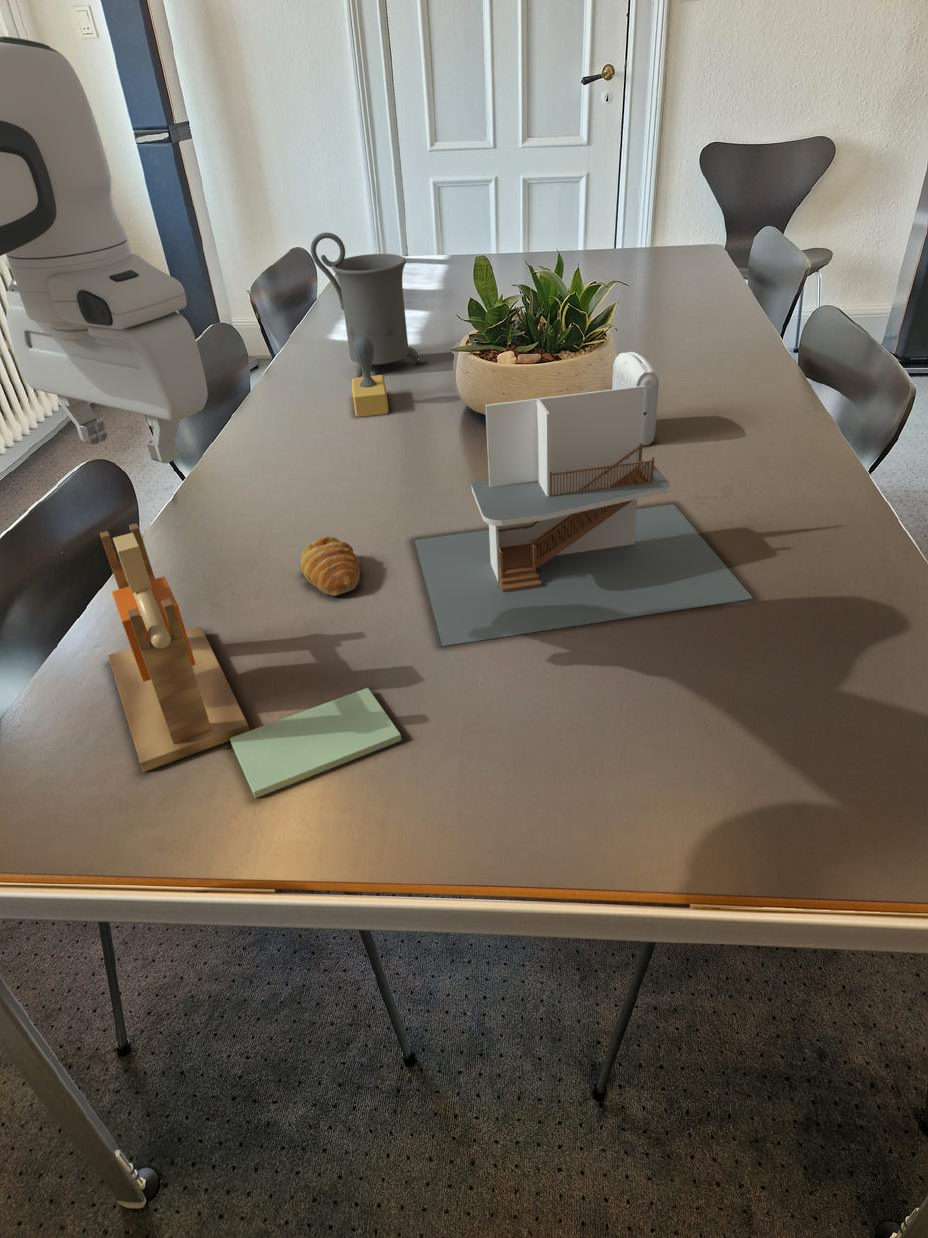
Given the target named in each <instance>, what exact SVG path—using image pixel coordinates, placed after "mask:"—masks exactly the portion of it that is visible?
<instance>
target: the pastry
mask: <svg viewBox="0 0 928 1238" xmlns="http://www.w3.org/2000/svg"><path fill="white" fill-rule="evenodd" d="M300 571H301V573H302V574H303V576H304V577H305V579H306V580H307V581H308V582H309V583H310V585H311V584H312V586H313V587H315V588H316V589H318V591H320V592H321V593H323V594H325V595H330V596H332V597H336V596H339V595H342V594H346V593H348V592H350V591H351V592H352V591H353V590H355V589H356V588H357V586H358V584H359V583H360V574H361V570H360V560H359V559H358V556H357V555H356V554H355V553H354V549H353V547H352V546H351V545H350V544H349V543H347V542H345V541H341V540H340V539H338V538H337V537H335V536H323V537H319V538H317V539H315V540H314V541H312V542H311V543H308V544H307V545H306V547H305V548H304V549H303V551H302V552H301V556H300Z"/></svg>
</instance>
